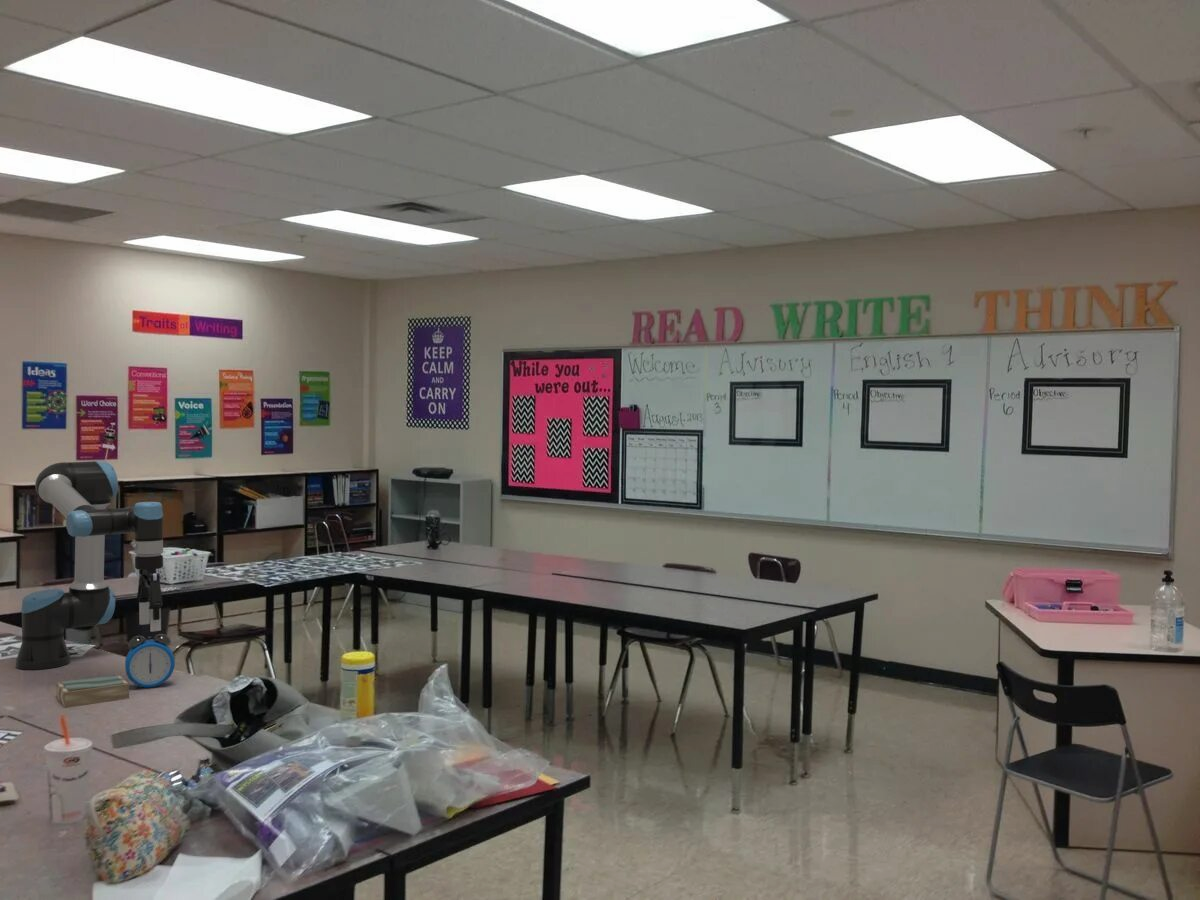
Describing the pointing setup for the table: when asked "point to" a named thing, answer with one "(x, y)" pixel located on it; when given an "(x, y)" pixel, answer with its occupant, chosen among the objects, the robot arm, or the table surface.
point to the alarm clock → (149, 661)
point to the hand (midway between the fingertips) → (150, 627)
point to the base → (92, 690)
